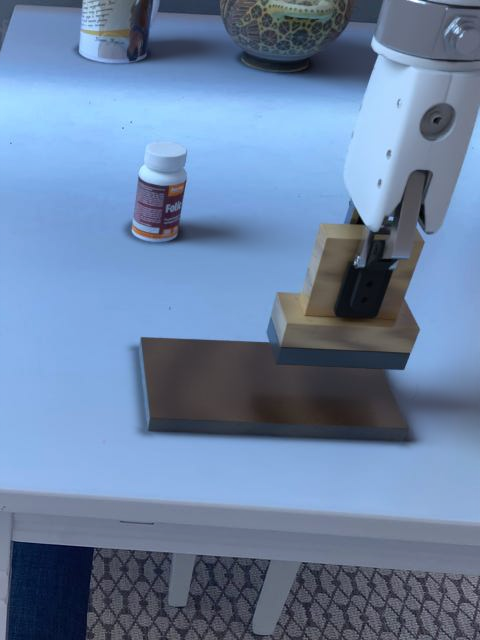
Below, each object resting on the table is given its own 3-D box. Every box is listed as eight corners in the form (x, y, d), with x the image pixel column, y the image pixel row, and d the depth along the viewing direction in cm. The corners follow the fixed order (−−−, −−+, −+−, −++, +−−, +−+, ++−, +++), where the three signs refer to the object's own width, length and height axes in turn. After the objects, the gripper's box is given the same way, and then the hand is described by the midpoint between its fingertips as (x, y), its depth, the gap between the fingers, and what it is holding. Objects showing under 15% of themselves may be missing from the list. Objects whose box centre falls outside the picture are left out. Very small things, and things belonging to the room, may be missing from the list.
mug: (73, 42, 139) (79, -49, 131) (152, 41, 140) (163, -49, 132) (84, 65, 132) (92, -29, 124) (168, 64, 133) (181, -29, 125)
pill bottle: (167, 248, 95) (181, 161, 89) (124, 238, 96) (134, 151, 90) (183, 230, 98) (198, 145, 92) (141, 220, 99) (152, 135, 93)
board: (368, 361, 82) (373, 345, 80) (402, 444, 74) (409, 428, 72) (138, 352, 82) (140, 336, 81) (147, 434, 74) (149, 417, 73)
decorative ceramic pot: (213, 55, 145) (206, -61, 134) (333, 25, 141) (336, -96, 131) (236, 114, 128) (230, -12, 118) (372, 82, 125) (379, -51, 114)
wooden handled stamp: (389, 338, 76) (432, 220, 69) (404, 370, 73) (451, 250, 66) (265, 332, 76) (296, 214, 69) (275, 364, 73) (308, 244, 66)
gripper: (547, 71, 52) (427, 365, 66) (463, -8, 63) (374, 258, 77) (413, 65, 52) (320, 360, 66) (352, -13, 63) (283, 254, 77)
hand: (350, 303), depth 71 cm, fingers closed on wooden handled stamp, 2 cm apart
